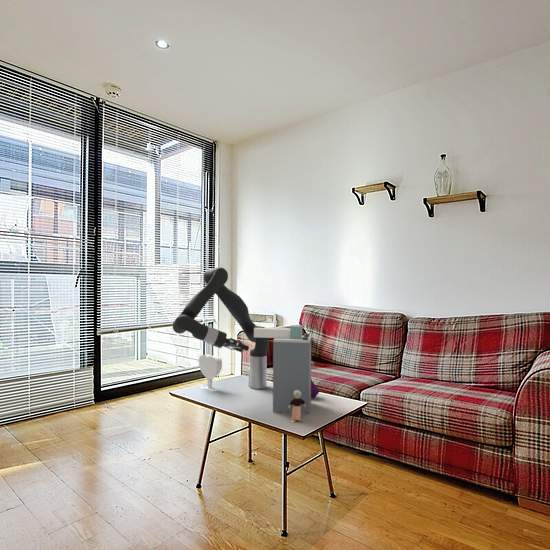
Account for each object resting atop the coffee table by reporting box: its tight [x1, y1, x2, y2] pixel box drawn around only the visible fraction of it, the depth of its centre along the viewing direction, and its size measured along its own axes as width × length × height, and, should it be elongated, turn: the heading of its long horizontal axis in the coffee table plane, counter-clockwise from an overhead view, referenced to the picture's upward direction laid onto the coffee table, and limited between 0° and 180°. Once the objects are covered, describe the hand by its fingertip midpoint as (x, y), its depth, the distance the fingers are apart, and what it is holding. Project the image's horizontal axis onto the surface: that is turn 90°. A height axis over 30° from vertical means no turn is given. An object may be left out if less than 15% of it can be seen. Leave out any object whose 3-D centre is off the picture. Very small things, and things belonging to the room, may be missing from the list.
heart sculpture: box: [198, 354, 223, 392], centre depth 219 cm, size 16×5×18 cm, turn 48°
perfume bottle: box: [311, 360, 321, 400], centre depth 204 cm, size 8×8×18 cm
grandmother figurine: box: [288, 390, 306, 422], centre depth 170 cm, size 8×4×13 cm, turn 114°
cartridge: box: [254, 324, 303, 339], centre depth 189 cm, size 22×6×6 cm, turn 82°
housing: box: [272, 333, 312, 414], centre depth 188 cm, size 16×16×33 cm
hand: (245, 349), depth 195 cm, fingers open, 8 cm apart
